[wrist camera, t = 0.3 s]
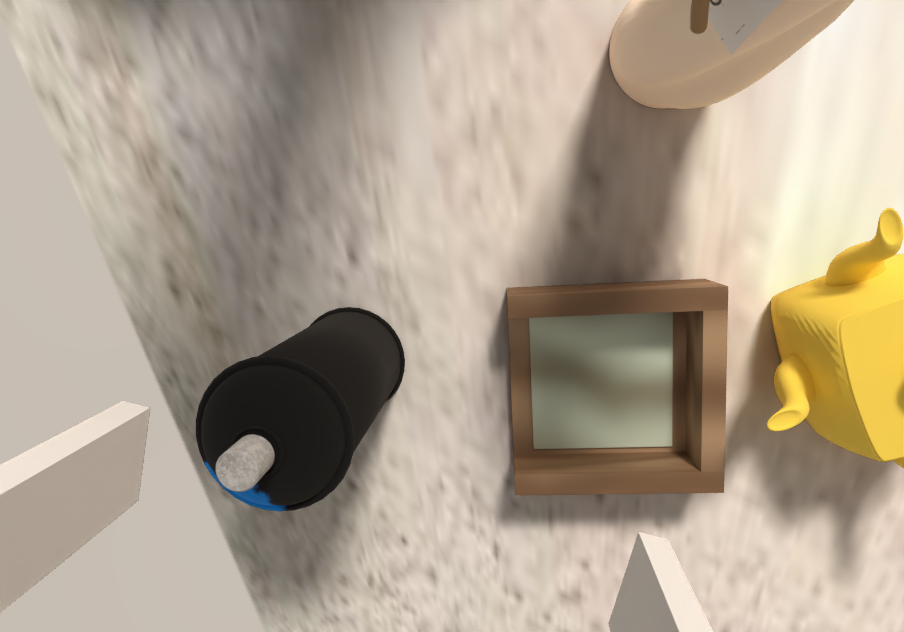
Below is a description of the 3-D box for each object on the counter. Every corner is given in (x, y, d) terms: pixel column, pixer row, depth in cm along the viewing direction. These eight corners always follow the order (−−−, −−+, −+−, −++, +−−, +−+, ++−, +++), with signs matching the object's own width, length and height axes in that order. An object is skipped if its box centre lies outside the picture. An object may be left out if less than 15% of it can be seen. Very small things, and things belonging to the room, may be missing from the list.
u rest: (506, 288, 43) (507, 296, 39) (704, 278, 42) (728, 286, 38) (514, 468, 46) (515, 495, 41) (701, 464, 44) (724, 492, 40)
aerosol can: (319, 290, 45) (174, 351, 25) (420, 330, 44) (355, 423, 25) (286, 387, 46) (125, 516, 26) (384, 427, 46) (294, 585, 26)
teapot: (806, 206, 41) (898, 205, 31) (997, 287, 41) (1147, 311, 31) (706, 393, 43) (763, 443, 34) (885, 469, 43) (991, 541, 34)
